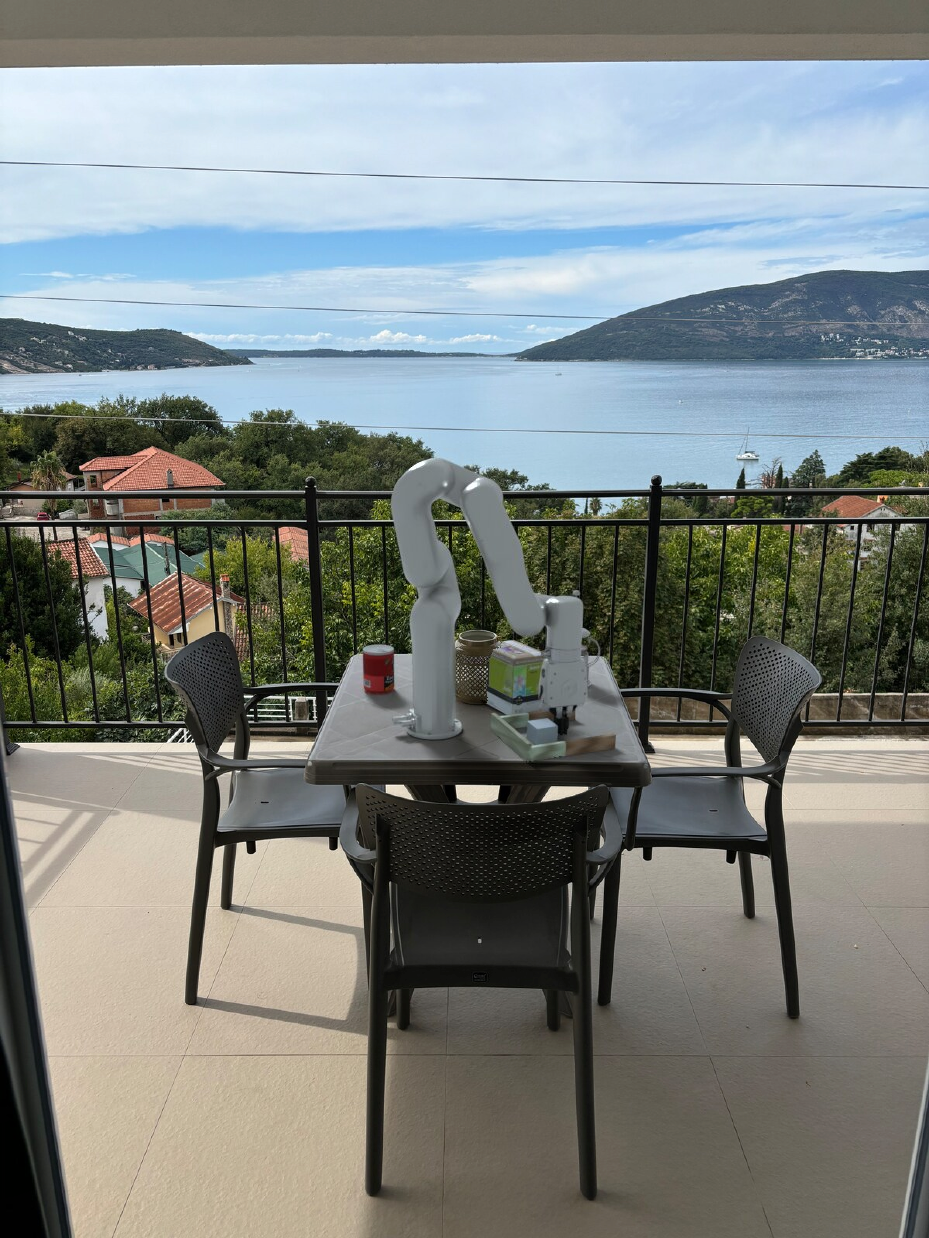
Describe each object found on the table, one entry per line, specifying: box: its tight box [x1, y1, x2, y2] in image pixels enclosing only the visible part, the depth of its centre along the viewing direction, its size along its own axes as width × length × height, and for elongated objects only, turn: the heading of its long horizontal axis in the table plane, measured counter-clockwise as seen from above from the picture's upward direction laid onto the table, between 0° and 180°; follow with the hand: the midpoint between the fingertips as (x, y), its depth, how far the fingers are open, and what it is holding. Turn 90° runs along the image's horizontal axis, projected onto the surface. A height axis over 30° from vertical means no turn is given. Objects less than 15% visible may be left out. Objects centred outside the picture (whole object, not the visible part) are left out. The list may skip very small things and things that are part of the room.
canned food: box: [362, 644, 395, 695], centre depth 222 cm, size 8×8×11 cm
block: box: [526, 718, 559, 746], centre depth 191 cm, size 5×5×4 cm
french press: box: [572, 589, 601, 686], centre depth 227 cm, size 10×12×25 cm
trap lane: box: [490, 708, 617, 763], centre depth 192 cm, size 21×19×4 cm
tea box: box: [486, 639, 546, 715], centre depth 210 cm, size 15×10×15 cm, turn 30°
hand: (560, 732), depth 193 cm, fingers closed
